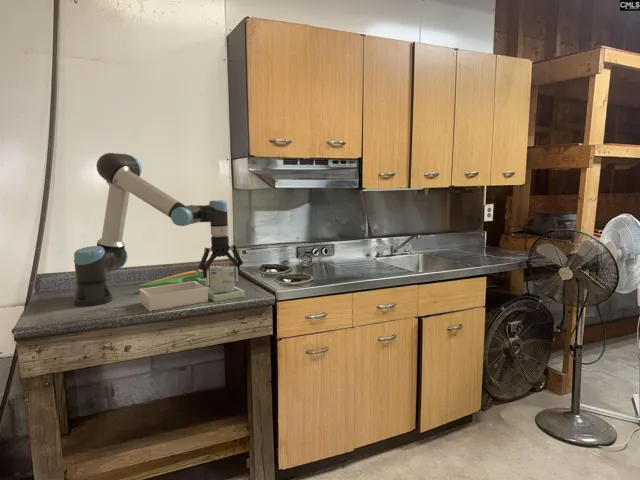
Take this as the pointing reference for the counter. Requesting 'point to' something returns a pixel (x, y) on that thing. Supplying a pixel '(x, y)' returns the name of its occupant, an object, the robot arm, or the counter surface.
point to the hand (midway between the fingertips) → (222, 282)
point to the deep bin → (173, 295)
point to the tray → (225, 294)
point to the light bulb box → (221, 278)
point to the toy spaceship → (178, 279)
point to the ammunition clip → (216, 265)
